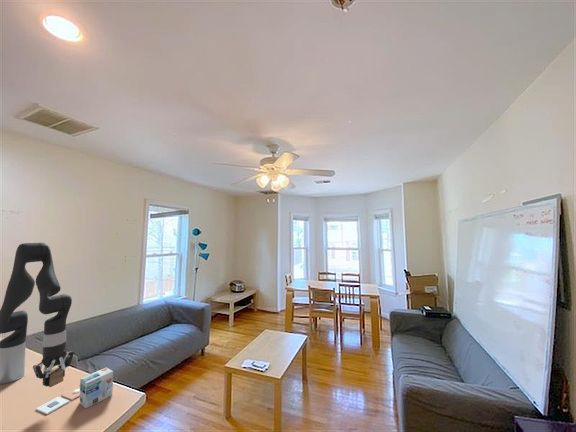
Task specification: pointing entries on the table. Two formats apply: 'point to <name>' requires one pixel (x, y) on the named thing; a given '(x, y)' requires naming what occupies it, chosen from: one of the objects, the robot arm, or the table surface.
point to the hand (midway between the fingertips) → (53, 382)
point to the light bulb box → (96, 387)
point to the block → (56, 376)
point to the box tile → (52, 405)
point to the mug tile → (72, 393)
